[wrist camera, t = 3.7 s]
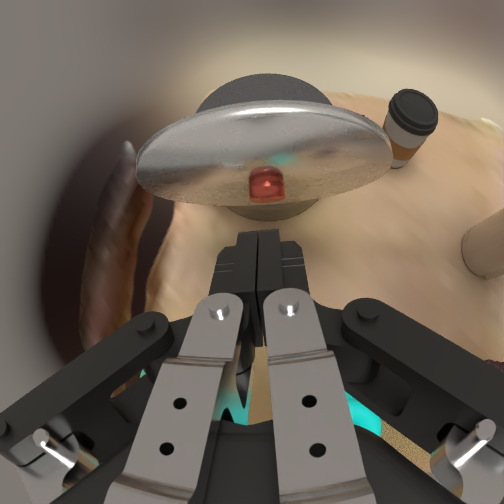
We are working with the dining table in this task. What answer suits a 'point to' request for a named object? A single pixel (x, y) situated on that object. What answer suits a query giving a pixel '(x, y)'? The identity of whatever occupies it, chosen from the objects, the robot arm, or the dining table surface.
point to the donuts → (363, 416)
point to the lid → (263, 154)
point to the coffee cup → (409, 123)
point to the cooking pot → (261, 90)
